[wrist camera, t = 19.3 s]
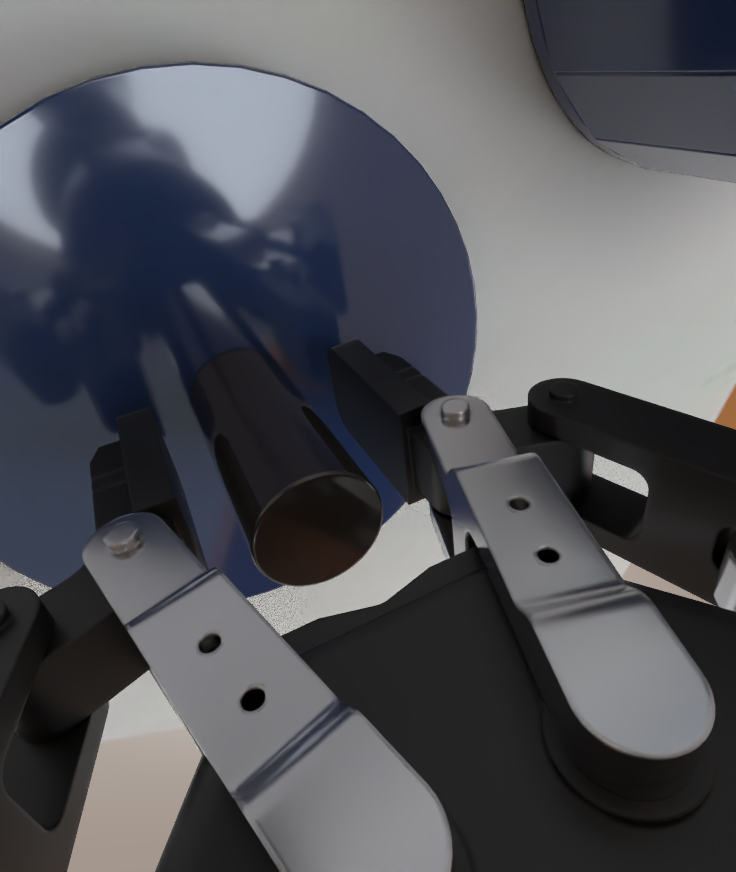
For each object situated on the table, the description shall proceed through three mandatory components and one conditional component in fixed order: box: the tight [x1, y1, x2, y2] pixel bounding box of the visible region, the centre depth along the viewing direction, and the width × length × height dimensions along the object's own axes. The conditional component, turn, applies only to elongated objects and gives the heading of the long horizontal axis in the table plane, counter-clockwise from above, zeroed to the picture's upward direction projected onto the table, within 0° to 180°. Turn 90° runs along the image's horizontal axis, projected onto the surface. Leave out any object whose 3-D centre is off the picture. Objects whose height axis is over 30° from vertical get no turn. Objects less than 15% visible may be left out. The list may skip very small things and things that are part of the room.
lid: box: [0, 61, 477, 598], centre depth 12 cm, size 14×14×7 cm
